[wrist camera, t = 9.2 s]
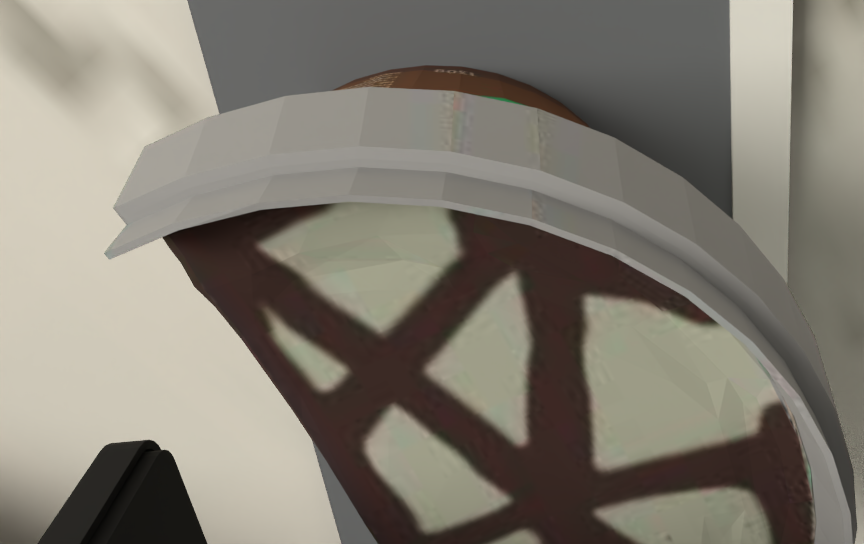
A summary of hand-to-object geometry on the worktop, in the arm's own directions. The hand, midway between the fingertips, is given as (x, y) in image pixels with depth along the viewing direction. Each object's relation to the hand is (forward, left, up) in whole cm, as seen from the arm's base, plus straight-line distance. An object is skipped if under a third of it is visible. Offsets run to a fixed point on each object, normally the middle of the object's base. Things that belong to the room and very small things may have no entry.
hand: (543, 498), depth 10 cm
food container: (-1, 0, -10) cm, 10 cm away
